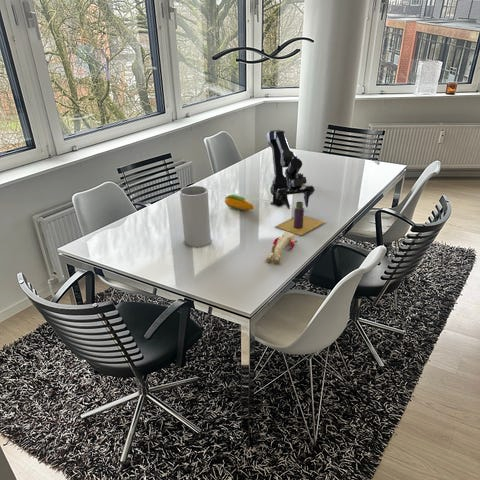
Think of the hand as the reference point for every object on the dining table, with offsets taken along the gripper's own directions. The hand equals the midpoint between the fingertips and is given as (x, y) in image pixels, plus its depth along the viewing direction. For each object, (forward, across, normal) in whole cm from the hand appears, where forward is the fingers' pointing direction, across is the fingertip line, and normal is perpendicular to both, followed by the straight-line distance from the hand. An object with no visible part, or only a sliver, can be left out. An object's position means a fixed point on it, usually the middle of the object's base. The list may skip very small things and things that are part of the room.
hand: (298, 208), depth 225 cm
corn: (-14, -23, +28) cm, 39 cm away
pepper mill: (+8, 0, +5) cm, 9 cm away
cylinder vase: (+10, -52, +4) cm, 53 cm away
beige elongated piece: (+24, -16, -10) cm, 31 cm away
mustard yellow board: (+6, +2, +8) cm, 10 cm away
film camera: (-36, +18, +50) cm, 64 cm away
